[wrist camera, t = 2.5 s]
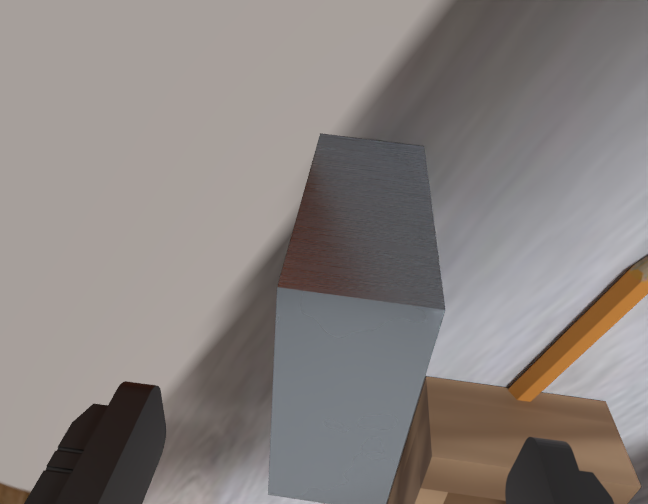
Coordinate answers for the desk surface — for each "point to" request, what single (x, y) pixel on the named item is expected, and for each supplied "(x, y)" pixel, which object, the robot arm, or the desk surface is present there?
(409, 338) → the tall grey rectangular prism
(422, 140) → the desk surface
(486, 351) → the desk surface
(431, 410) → the wooden cubby shelf
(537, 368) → the pencil
